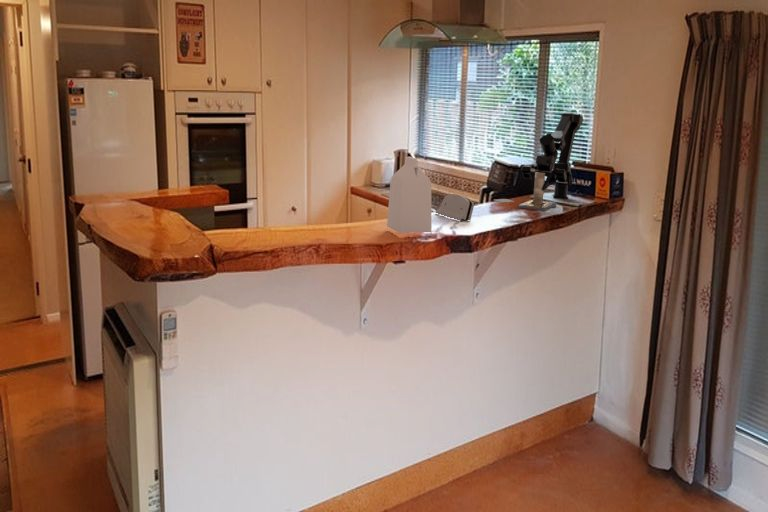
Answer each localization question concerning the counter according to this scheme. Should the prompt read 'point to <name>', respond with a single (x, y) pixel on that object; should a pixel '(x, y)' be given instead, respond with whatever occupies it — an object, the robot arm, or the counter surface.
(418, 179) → the milk
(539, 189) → the peg
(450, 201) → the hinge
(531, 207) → the rack plate
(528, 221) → the counter surface
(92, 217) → the counter surface
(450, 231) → the counter surface
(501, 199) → the pad
